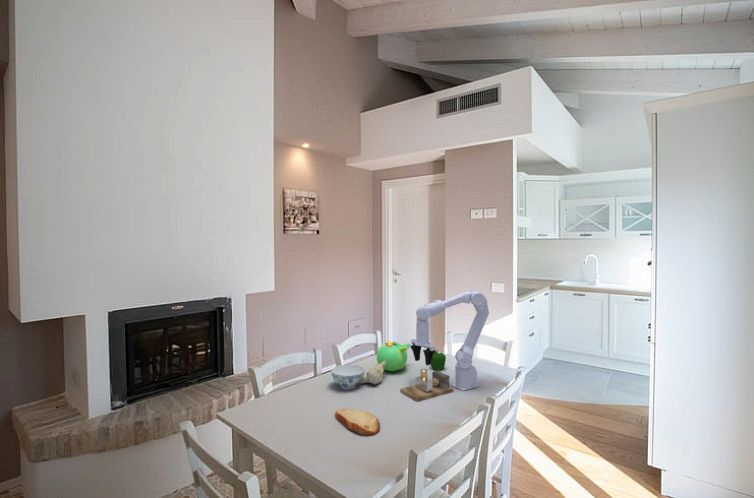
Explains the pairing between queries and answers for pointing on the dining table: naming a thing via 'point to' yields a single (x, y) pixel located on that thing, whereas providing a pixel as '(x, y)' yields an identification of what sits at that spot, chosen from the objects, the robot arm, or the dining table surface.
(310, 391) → the dining table surface
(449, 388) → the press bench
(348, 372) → the chinaware
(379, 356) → the toy bird
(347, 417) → the bread slice
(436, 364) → the bell pepper
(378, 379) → the ginger root
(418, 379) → the jaw
